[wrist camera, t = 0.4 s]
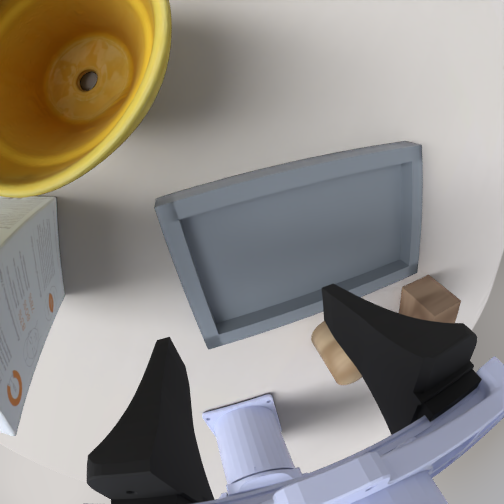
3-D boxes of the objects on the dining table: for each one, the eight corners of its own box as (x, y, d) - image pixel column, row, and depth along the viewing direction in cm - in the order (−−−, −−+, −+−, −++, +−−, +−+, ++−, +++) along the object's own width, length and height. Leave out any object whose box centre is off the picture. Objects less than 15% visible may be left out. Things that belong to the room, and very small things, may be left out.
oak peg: (344, 338, 30) (370, 374, 25) (312, 351, 29) (335, 390, 24) (344, 313, 28) (373, 350, 23) (310, 326, 27) (335, 366, 23)
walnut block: (423, 302, 31) (452, 329, 26) (398, 315, 31) (427, 345, 26) (428, 274, 29) (461, 300, 24) (401, 286, 29) (434, 316, 24)
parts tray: (404, 263, 27) (417, 272, 26) (204, 333, 25) (208, 349, 23) (405, 141, 22) (421, 144, 20) (156, 198, 19) (154, 207, 17)
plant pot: (170, 151, 18) (167, 185, 9) (26, 168, 15) (-60, 216, 7) (177, 2, 14) (186, -80, 5) (30, 26, 11) (-48, -12, 2)
